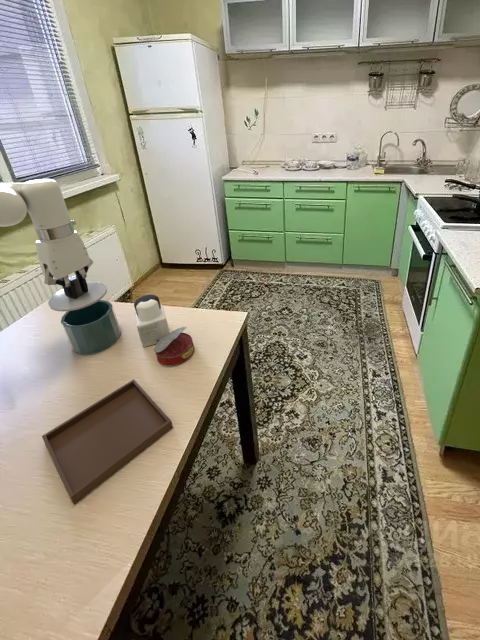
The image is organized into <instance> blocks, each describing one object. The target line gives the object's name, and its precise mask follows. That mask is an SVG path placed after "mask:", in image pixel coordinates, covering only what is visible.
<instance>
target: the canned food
mask: <svg viewBox="0 0 480 640" xmlns="http://www.w3.org/2000/svg"><path fill="white" fill-rule="evenodd" d="M186 329H187V326H181V327H178V328H176V329H174V330H172V331H170V333H169V334H167V335H166V336H164V337H163V338H162V339H160V340H159V341H158V342H157V343H156V344H155V345H154V348H153V351H154V353H155V356H156V360H157V362H158V363H159V364H160V365H161V366H165V367H176V366H179V365H182V364H183V363H186V362H187V361H188V360H190V359H191V358H192V356H193V354H194V352H195V346H194V345H195V344H194V341H193V336H192V335H190V334H188V333H186V332H184V331H185V330H186Z"/></svg>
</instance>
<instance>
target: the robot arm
mask: <svg viewBox="0 0 480 640" xmlns="http://www.w3.org/2000/svg"><path fill="white" fill-rule="evenodd" d="M27 213H28V215H29V217H30V220H31V222H32V226H33V228H34V231H35V233H36V235H37V238H38V239H37V240H35V251H36V256H37V259H38V263H39V266H40V270H41V272H42V274H43V276H44V281H43V283H44V284H45V285H46V286H47V285H48V286H61V287H62V289H63V290H64V292H65V295H66V296H67V297H69V298H73V299H76V298H77V294H76V291H75V288H74V286H73V285H71V284H70V280H69V277H70V276H69V275H72V274H73V273H74V276H78V277H79V280H80V283H81V286H82V289H83V292H88V291H89V290H88V285H87V282H88V281H87V279H86V278H87V277H88V271H89V269H90V267H91V266H92V265H93V264H94V260H93V259H92V258H90V256H89V252H88V250H87V247H86V246H85V245H86V244H85V243H84V241H83V239H82V237H81V235H80V234H79V233H78V231H77V230H75V227H74V226H76V225H77V221H76V220H75V219H72V220H71V217H70V213H69V210H68V207H67V204H66V201H65V198H64V195H63V192H62V189H61V186H60V184H59V182H57V181H56V180H55V179H51V178H42V179H41V178H39V179H31V180H28V181H25V182H0V227H1V228H3V227H4V228H5V227H12V226H15V225H16V226H17V225H18V224H19V223H21V222H23V221H24V219H25V218H26V216H27Z"/></svg>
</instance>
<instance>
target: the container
mask: <svg viewBox="0 0 480 640" xmlns="http://www.w3.org/2000/svg"><path fill="white" fill-rule="evenodd" d="M133 307H134V310H135V311H134V317H135V325H136V328H137V332H138V335H139V339H140V342H141V346H142V347H143V348H146V347H149V346H152V345H156V344H157V342H158V341H159V340H160V339H162V338H163V337H164V336H166V335H167V334H169V333H170V332H171V330H170V328H169V323H168V319H167V315H166V312H165V308H164V305H163V304H161V302H160V298H159V296H157V295H155V294H145V295H142V296H140V297H138V298H137V299H136V300H135V301H134V303H133Z"/></svg>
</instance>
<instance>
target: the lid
mask: <svg viewBox="0 0 480 640" xmlns="http://www.w3.org/2000/svg"><path fill="white" fill-rule="evenodd" d="M68 277H69V280H70V284H71V285H73V286H74V288H75V291H76V294H77V298H76V299H73V298H69V297H67V296H66V295H65V292H64V290H63V288H62V289H60V290H58V291H57V292H55V293H54V294H53V295H52V296H51V297H50V298H49V299H48V306H49V309H51V310H53V311H55V312H67V311H73V310H78V309H81V308H85V307H87V306H90V305H92V304H94V303H96V302H97V301H99V300H103V298H104V297H105V296H106V295H107V294H108V287H107V285H106V284H104V283H103V282H99V281H86V282H87V285H88V290H89V291H88V292H83V289H82V286H81V283H80V280H79V277H78V276H76V275H71V276H68Z"/></svg>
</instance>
